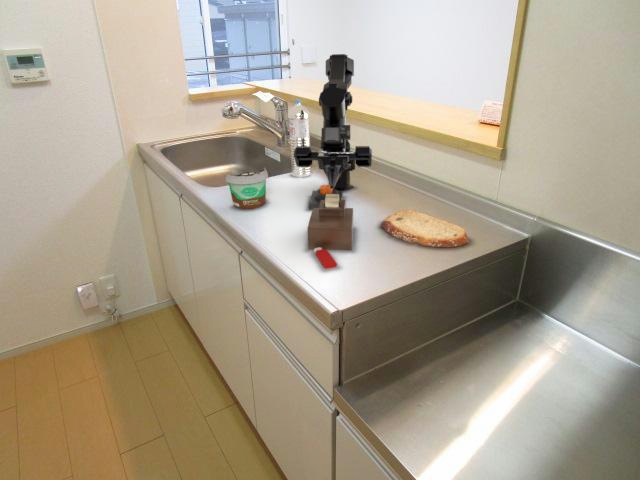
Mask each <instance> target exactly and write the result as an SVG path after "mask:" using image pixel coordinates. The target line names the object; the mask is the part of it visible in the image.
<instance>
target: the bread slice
mask: <svg viewBox="0 0 640 480" xmlns="http://www.w3.org/2000/svg"><path fill="white" fill-rule="evenodd" d="M380 227H381V228H383V229H384V230H385V232H386V233H387V234H389V235H390V236H391V237H393V238H396V239H398V240H401V241H404V242H407V243H409V244H410V243H411V244H418V245H421V246H425V247H432V248H434V247H435V248H455V247H460V246H464V245H466V244H468V243H469V237H468V234H467V231H466V230H465V228H464V227H461V226H459V225H457V224H455V223H451V222H449V221H447V220H444V219H442V218H438V217H435V216H431V215H428V214H425V213H421V212H417V211H415V210H411V209H405V210H404V209H403V210H400V211H396V212H394V213H393V214H390V215H388V216H387V217H386V218H385V219H383V221H382V222H381V224H380Z"/></svg>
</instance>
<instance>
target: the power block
mask: <svg viewBox="0 0 640 480" xmlns="http://www.w3.org/2000/svg"><path fill="white" fill-rule="evenodd" d="M331 194H339V200H344V199H343V197H344V191H337V190H336V189H332V193H331ZM325 197H326V194H320V188H318V189H316V190H312V192H311V196H310V198H309V202H308V210H309V211H312V210H313V208H319V206H320V202H321V200H325Z"/></svg>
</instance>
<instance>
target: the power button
mask: <svg viewBox="0 0 640 480" xmlns="http://www.w3.org/2000/svg"><path fill="white" fill-rule="evenodd" d="M319 189H320V194H331V193H332V189H330V185H328V184H323V185H320V186H319Z"/></svg>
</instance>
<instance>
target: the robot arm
mask: <svg viewBox="0 0 640 480" xmlns="http://www.w3.org/2000/svg"><path fill="white" fill-rule="evenodd" d="M325 76H326V77H327V79H328V81H327V82H326V83H324V84H323V88H322V91H321V92H320V93H319V97H318V105H319V107H320V108H321V115H322V118H323V120H322V127H321V136H320V149H319V150H317V151H312V146H311V145H310V146H297V147H296V148H295V149H294V158H295V162H296V165H297V166H298V167H310V166H311V167H312V165H313V161H317V165H318V169H319V170H321V171H322V172H323V173H324V175H325V176H326V179H327V185H330V189H336V190H337V191H343V192H345V191H348V190H351V189H354V185H352V184H351V172H354V171H355V170H356V166H357V167H358V168H369V167H371V166H372V160H373V159H372V157H373V148H372V147H371V146H370V145H355V148H354V149H355V151H353V150H351V149H352V147H351V143H350V142H349V141H350V140H351V133H352V132H351V129H352V128H351V124H347V112H348V109H349V107H351V105H352V104H353V95H352V93H351V91H349V88H350V87H351V86H352V83H353V81H352V80H353V78H352V77H354V76H355V60H354V59H353V58H350V57H348V54H346V53H336V54H331V55H329V58H327V59H326V60H325Z"/></svg>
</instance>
